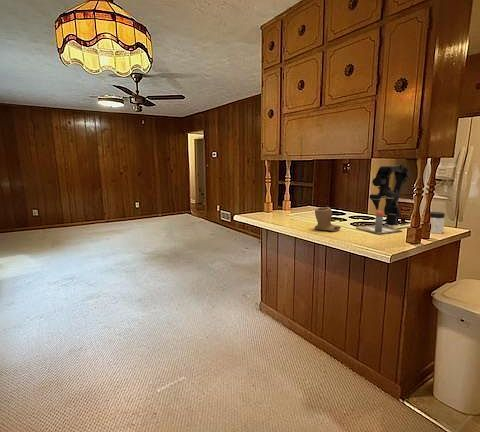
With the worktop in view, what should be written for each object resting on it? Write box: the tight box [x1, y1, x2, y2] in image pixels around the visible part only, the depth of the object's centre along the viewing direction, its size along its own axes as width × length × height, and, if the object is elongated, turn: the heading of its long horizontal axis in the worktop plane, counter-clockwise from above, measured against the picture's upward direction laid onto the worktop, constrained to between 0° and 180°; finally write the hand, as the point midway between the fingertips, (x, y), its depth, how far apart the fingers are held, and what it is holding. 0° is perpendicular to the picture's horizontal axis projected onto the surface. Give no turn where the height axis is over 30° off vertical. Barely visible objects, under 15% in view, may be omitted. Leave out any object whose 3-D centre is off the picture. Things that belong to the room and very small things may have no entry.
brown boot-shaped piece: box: [314, 206, 342, 232], centre depth 189 cm, size 15×12×15 cm
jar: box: [430, 211, 446, 234], centre depth 182 cm, size 9×8×12 cm
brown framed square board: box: [355, 224, 403, 236], centre depth 189 cm, size 19×19×2 cm
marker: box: [374, 210, 385, 232], centre depth 180 cm, size 4×4×12 cm
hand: (382, 209), depth 196 cm, fingers open, 9 cm apart
